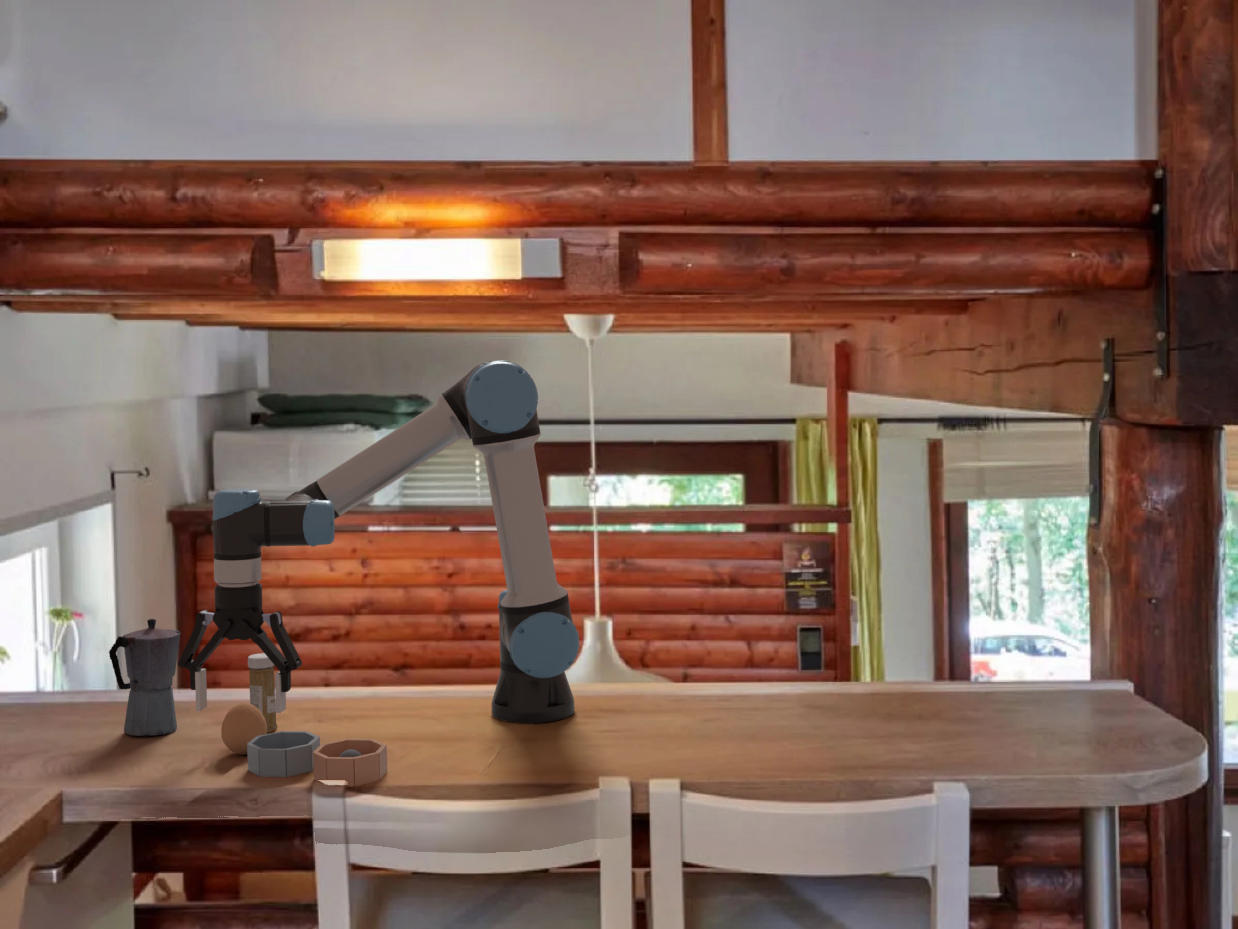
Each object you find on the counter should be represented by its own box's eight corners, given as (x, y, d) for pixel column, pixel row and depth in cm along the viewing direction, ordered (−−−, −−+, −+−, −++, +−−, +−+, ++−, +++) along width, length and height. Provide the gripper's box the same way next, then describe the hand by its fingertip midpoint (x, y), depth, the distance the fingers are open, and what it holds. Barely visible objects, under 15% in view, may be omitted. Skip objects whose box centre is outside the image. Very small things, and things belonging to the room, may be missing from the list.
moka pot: (201, 723, 240) (197, 614, 238) (138, 747, 226) (132, 630, 225) (161, 718, 244) (156, 610, 242) (96, 741, 230) (90, 626, 229)
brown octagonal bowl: (392, 770, 211) (391, 739, 210) (374, 791, 200) (373, 759, 200) (329, 769, 212) (327, 738, 211) (307, 790, 201) (306, 758, 201)
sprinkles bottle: (280, 731, 234) (278, 655, 233) (255, 735, 232) (252, 659, 231) (272, 725, 238) (269, 651, 237) (247, 729, 236) (244, 654, 235)
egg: (225, 763, 216) (223, 711, 216) (219, 751, 223) (217, 701, 222) (271, 756, 219) (269, 706, 218) (264, 745, 226) (262, 695, 225)
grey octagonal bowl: (327, 761, 216) (326, 731, 215) (305, 782, 205) (304, 750, 205) (264, 761, 217) (263, 730, 216) (240, 781, 206) (239, 749, 206)
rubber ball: (367, 771, 208) (366, 746, 207) (359, 779, 204) (359, 754, 203) (342, 771, 208) (341, 746, 208) (334, 779, 204) (333, 753, 204)
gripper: (319, 580, 221) (321, 706, 223) (174, 578, 224) (178, 702, 225) (304, 588, 214) (306, 718, 215) (155, 585, 216) (158, 714, 218)
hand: (241, 710), depth 220 cm, fingers open, 13 cm apart
